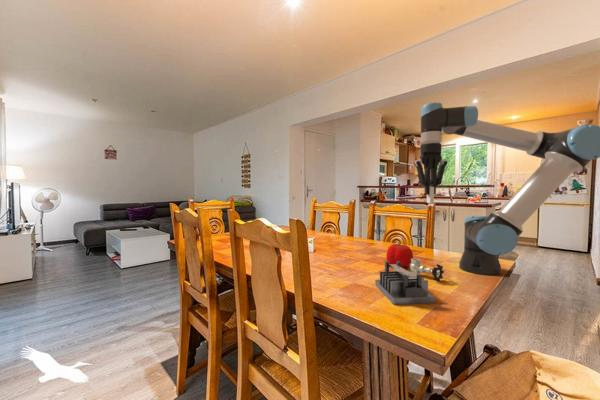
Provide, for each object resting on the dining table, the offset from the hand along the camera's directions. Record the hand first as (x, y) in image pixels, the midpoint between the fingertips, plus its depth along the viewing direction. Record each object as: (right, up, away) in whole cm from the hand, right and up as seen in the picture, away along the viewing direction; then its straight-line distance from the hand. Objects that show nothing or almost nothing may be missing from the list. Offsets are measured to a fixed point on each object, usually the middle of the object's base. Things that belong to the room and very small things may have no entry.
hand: (430, 202), depth 112 cm
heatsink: (-18, -31, -18) cm, 39 cm away
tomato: (-7, -29, +14) cm, 33 cm away
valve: (-3, -30, -1) cm, 30 cm away
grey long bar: (-18, -24, -17) cm, 34 cm away
